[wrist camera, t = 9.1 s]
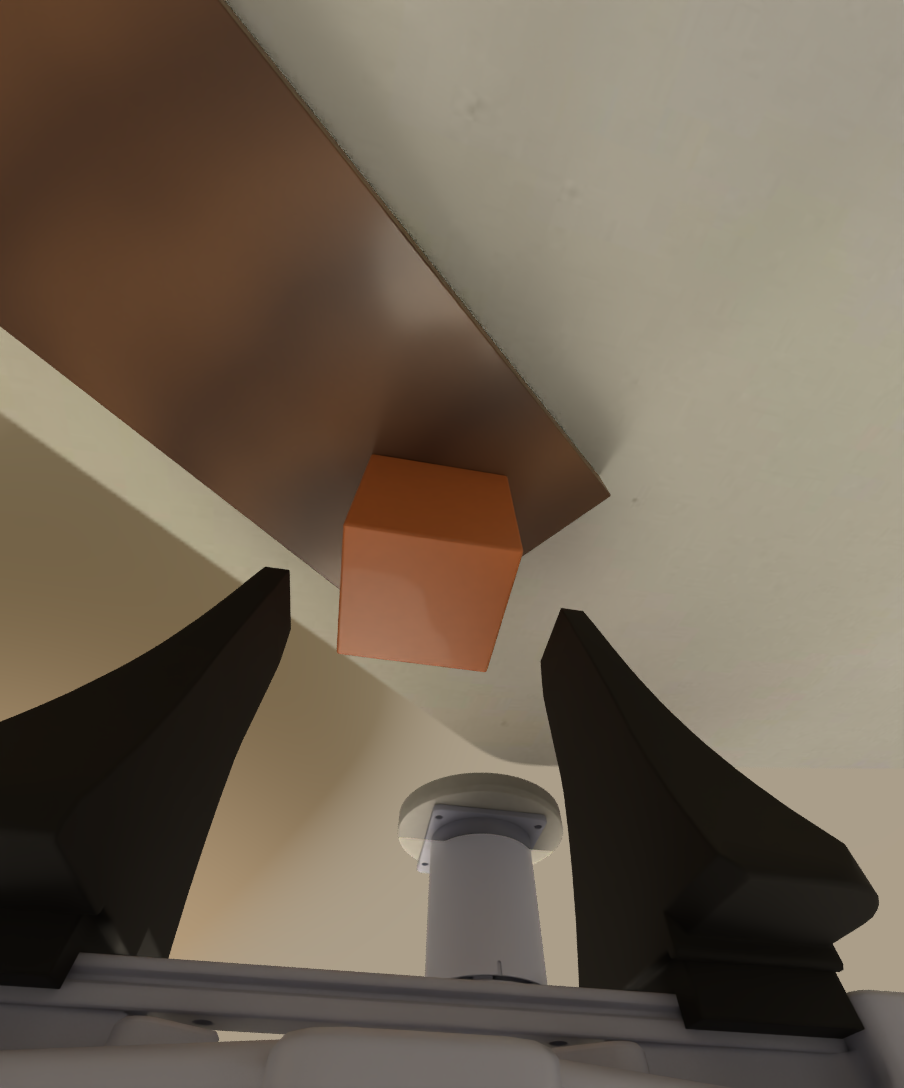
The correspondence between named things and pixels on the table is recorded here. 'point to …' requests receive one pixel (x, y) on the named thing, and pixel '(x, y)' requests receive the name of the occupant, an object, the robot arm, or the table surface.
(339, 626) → the block
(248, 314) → the board
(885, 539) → the table surface
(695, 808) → the robot arm
